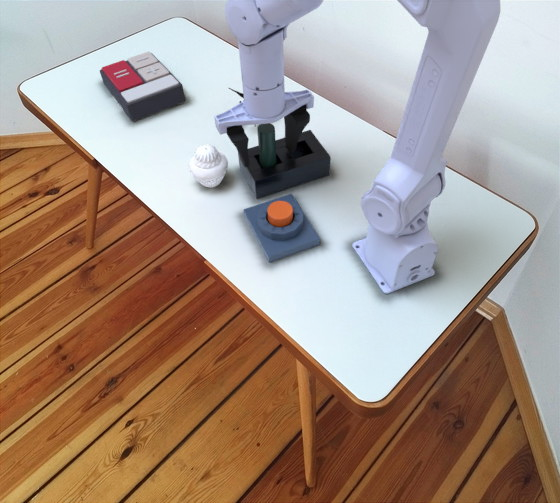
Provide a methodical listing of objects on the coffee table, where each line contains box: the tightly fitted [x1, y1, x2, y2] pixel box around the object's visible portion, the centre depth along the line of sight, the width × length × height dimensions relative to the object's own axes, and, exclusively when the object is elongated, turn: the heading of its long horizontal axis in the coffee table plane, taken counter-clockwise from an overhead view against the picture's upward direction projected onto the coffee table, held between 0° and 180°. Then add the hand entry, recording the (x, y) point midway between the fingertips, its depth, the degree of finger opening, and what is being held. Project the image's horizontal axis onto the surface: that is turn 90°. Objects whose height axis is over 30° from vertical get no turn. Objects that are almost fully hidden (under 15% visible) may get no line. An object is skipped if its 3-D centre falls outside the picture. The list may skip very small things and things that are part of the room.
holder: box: [237, 129, 332, 200], centre depth 83 cm, size 7×13×4 cm, turn 113°
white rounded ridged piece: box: [188, 144, 229, 189], centre depth 81 cm, size 6×6×7 cm
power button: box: [267, 201, 293, 227], centre depth 74 cm, size 4×4×2 cm
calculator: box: [99, 51, 187, 122], centre depth 98 cm, size 11×4×15 cm
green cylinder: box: [256, 123, 276, 169], centre depth 80 cm, size 3×3×10 cm
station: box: [242, 193, 321, 263], centre depth 76 cm, size 10×8×3 cm
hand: (267, 155), depth 80 cm, fingers open, 7 cm apart
